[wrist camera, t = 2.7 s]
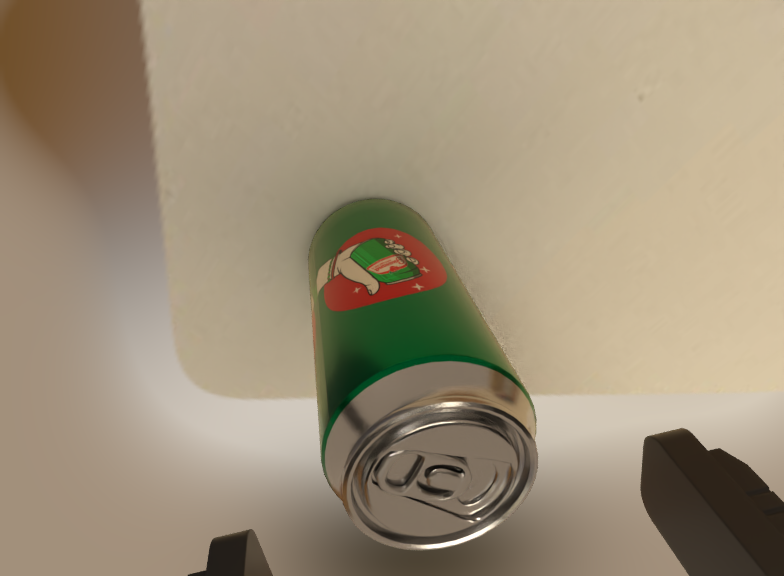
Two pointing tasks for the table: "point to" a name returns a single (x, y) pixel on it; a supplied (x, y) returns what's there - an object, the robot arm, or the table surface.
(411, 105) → the table surface
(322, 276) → the soda can
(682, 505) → the robot arm
